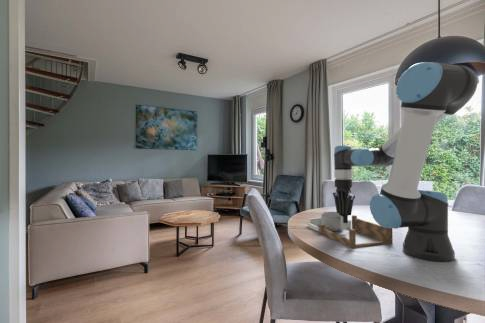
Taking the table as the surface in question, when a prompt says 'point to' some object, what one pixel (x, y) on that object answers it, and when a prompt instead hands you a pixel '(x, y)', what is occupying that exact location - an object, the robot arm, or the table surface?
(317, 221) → the holder
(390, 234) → the wooden frame
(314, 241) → the table surface
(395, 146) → the robot arm
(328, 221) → the teacup
